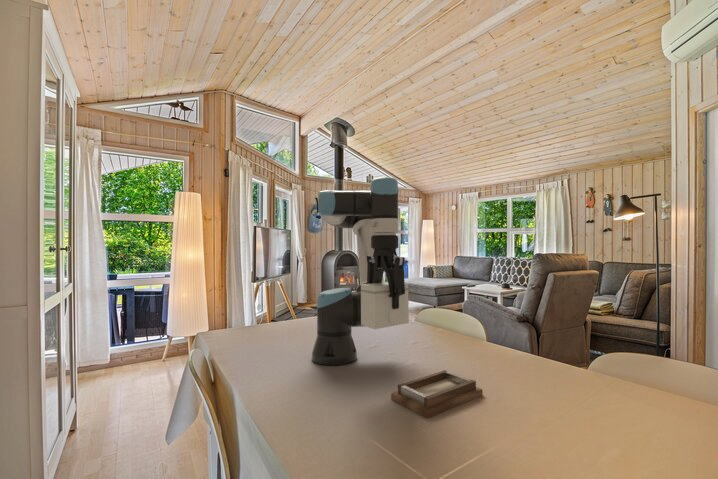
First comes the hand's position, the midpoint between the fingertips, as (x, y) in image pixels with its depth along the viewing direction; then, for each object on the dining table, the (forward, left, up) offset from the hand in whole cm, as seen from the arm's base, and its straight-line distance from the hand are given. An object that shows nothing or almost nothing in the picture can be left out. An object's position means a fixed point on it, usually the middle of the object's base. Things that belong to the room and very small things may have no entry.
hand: (385, 318), depth 97 cm
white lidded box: (0, 0, -1) cm, 1 cm away
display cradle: (+14, +5, -18) cm, 23 cm away
